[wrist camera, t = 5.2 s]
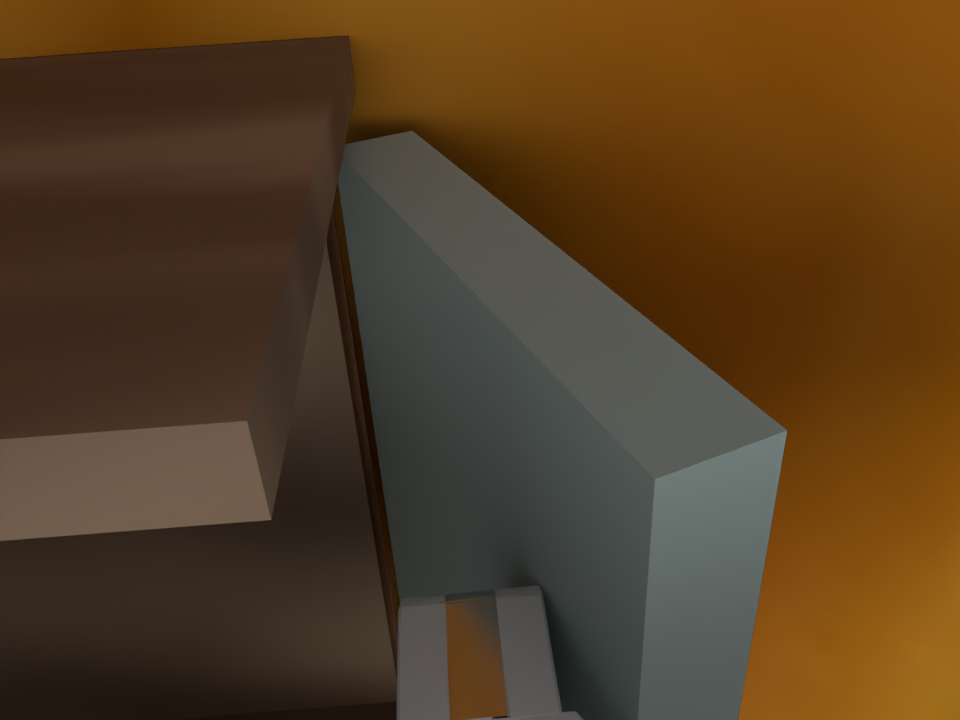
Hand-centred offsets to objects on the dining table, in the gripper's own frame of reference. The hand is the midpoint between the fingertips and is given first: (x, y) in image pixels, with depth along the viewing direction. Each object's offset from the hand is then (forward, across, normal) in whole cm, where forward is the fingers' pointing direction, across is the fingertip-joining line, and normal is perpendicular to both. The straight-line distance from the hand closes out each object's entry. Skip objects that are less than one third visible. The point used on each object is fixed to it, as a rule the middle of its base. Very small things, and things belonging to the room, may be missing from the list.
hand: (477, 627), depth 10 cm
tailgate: (+6, -2, -2) cm, 6 cm away
